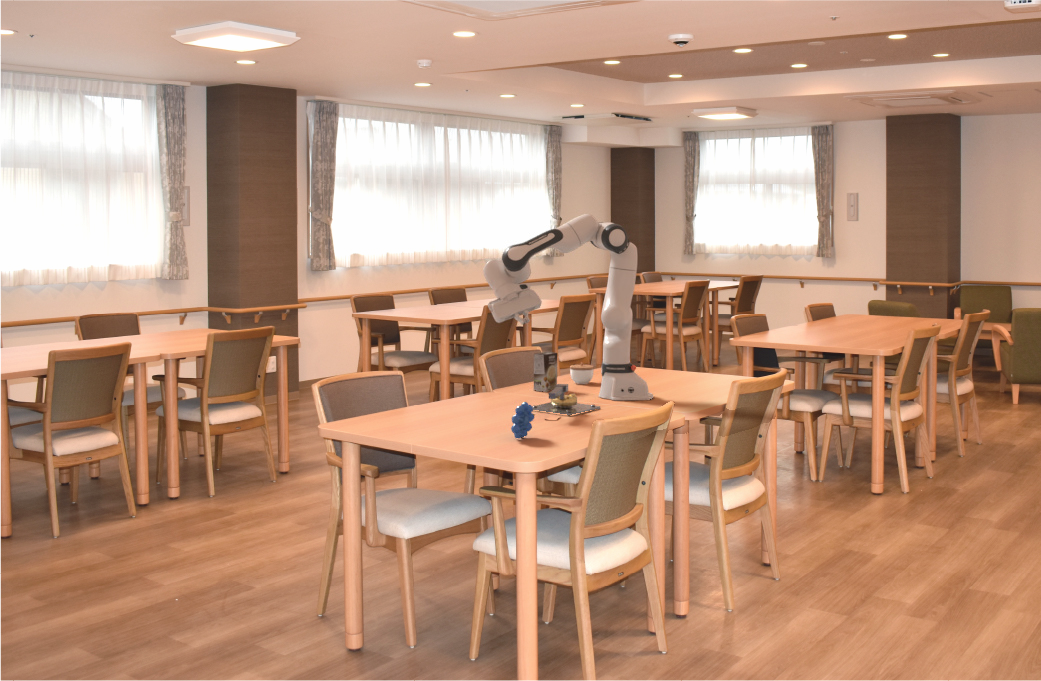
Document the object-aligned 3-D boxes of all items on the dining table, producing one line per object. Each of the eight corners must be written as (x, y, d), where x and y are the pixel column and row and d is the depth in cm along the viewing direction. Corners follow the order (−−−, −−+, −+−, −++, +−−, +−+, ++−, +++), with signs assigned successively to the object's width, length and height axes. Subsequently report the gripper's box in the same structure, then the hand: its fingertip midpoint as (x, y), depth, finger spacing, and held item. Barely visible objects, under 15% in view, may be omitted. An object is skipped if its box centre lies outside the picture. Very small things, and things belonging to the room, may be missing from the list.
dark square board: (557, 403, 384) (558, 398, 384) (600, 408, 372) (600, 403, 372) (527, 410, 368) (527, 405, 368) (570, 416, 356) (570, 411, 356)
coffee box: (545, 392, 410) (545, 354, 408) (533, 390, 414) (533, 353, 412) (557, 389, 418) (557, 352, 416) (545, 388, 421) (545, 351, 419)
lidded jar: (567, 384, 432) (567, 363, 431) (572, 380, 442) (573, 360, 441) (590, 385, 428) (590, 364, 427) (595, 382, 439) (596, 361, 438)
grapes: (521, 433, 326) (521, 398, 324) (538, 436, 322) (538, 400, 320) (501, 439, 316) (501, 403, 315) (519, 442, 312) (519, 405, 311)
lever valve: (553, 400, 376) (553, 380, 375) (579, 401, 374) (579, 381, 373) (538, 413, 349) (538, 392, 348) (565, 415, 347) (565, 393, 346)
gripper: (486, 298, 370) (504, 326, 364) (532, 282, 378) (549, 309, 373) (484, 308, 375) (501, 335, 370) (528, 292, 383) (546, 318, 378)
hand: (526, 322), depth 371 cm, fingers closed
